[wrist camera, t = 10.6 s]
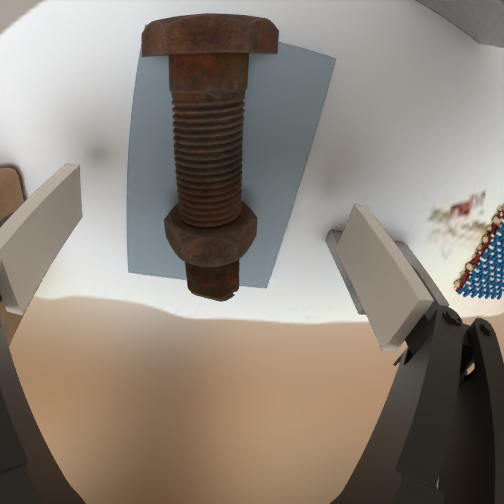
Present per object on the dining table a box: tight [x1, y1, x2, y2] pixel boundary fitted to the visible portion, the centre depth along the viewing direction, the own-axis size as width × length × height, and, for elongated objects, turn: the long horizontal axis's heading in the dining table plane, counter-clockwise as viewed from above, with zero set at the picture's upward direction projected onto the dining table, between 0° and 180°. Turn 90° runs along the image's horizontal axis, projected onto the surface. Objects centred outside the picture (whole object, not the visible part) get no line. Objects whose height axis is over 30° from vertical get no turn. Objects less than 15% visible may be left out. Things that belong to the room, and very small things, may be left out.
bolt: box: [142, 13, 279, 302], centre depth 14 cm, size 6×5×15 cm
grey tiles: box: [326, 0, 504, 315], centre depth 14 cm, size 7×19×7 cm, turn 168°
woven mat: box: [455, 205, 504, 300], centre depth 24 cm, size 10×11×2 cm
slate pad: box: [127, 25, 336, 288], centre depth 17 cm, size 10×16×1 cm, turn 168°
